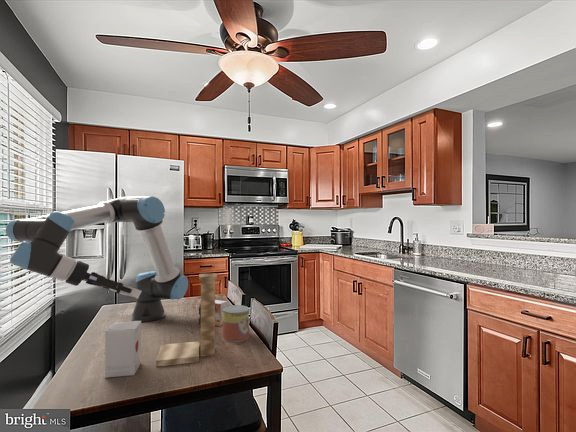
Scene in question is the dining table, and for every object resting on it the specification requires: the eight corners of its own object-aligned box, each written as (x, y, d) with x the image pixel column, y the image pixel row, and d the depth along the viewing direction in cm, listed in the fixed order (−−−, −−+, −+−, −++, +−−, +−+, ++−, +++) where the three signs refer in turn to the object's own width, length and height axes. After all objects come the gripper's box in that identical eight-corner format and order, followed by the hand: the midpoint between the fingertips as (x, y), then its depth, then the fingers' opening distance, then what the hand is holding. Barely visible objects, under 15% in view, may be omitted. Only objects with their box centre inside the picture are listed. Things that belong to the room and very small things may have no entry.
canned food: (236, 344, 126) (237, 314, 127) (216, 338, 132) (216, 309, 132) (254, 335, 136) (254, 307, 136) (234, 330, 142) (234, 303, 142)
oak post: (198, 357, 114) (199, 276, 114) (198, 350, 120) (199, 273, 121) (216, 355, 116) (217, 276, 116) (215, 348, 122) (216, 273, 122)
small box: (206, 324, 150) (206, 301, 150) (213, 320, 156) (213, 299, 156) (220, 326, 147) (220, 303, 147) (227, 322, 153) (227, 300, 153)
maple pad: (156, 366, 107) (156, 360, 107) (161, 349, 120) (161, 344, 120) (198, 361, 111) (198, 356, 111) (199, 346, 124) (199, 341, 124)
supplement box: (134, 375, 101) (135, 328, 101) (103, 378, 99) (104, 330, 99) (141, 363, 110) (142, 320, 110) (113, 365, 108) (113, 321, 108)
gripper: (59, 280, 109) (119, 300, 121) (69, 283, 91) (139, 307, 102) (71, 260, 112) (129, 282, 124) (83, 259, 94) (150, 284, 105)
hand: (133, 293), depth 113 cm, fingers open, 13 cm apart
